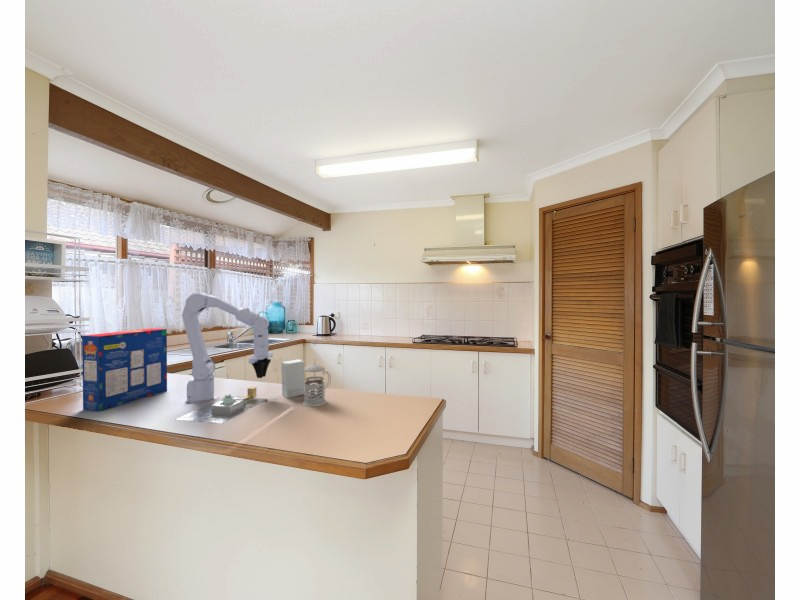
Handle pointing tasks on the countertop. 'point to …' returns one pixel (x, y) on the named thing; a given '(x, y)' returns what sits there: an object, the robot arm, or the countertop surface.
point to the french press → (315, 386)
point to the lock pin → (251, 393)
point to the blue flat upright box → (123, 367)
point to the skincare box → (293, 378)
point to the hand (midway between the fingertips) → (261, 377)
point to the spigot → (228, 399)
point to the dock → (221, 410)
